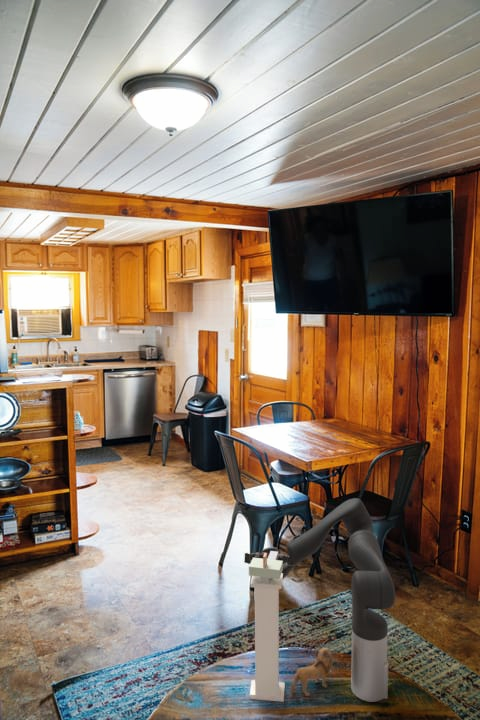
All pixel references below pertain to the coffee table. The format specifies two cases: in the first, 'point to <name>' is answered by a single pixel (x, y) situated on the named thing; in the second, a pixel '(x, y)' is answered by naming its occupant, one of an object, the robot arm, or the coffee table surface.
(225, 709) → the coffee table surface
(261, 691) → the stand
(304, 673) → the lion figurine
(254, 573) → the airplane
